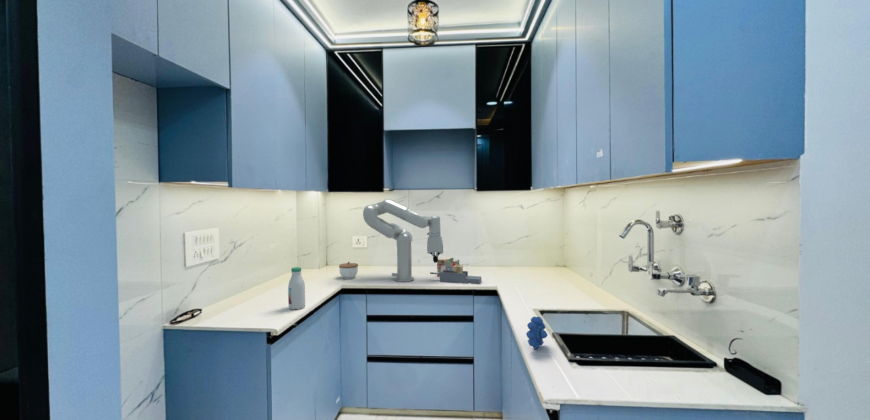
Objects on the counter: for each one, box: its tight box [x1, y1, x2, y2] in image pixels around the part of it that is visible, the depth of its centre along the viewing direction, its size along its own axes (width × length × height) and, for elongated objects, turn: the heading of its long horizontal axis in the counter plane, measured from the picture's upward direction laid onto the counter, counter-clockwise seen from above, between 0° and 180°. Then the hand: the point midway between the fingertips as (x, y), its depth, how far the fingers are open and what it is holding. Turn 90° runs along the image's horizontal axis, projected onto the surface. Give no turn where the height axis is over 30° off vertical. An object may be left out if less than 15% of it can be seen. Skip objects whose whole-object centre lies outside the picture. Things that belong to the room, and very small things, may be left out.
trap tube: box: [439, 270, 482, 285], centre depth 230 cm, size 26×9×6 cm, turn 75°
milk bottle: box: [287, 266, 306, 310], centre depth 175 cm, size 8×8×20 cm
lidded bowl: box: [338, 261, 359, 280], centre depth 241 cm, size 13×13×11 cm
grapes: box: [525, 316, 548, 350], centre depth 126 cm, size 12×7×12 cm, turn 137°
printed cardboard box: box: [436, 256, 460, 278], centre depth 252 cm, size 21×6×12 cm, turn 148°
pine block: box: [454, 265, 464, 274], centre depth 230 cm, size 5×5×7 cm
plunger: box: [429, 265, 445, 276], centre depth 234 cm, size 10×6×6 cm, turn 75°
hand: (435, 262), depth 234 cm, fingers closed
